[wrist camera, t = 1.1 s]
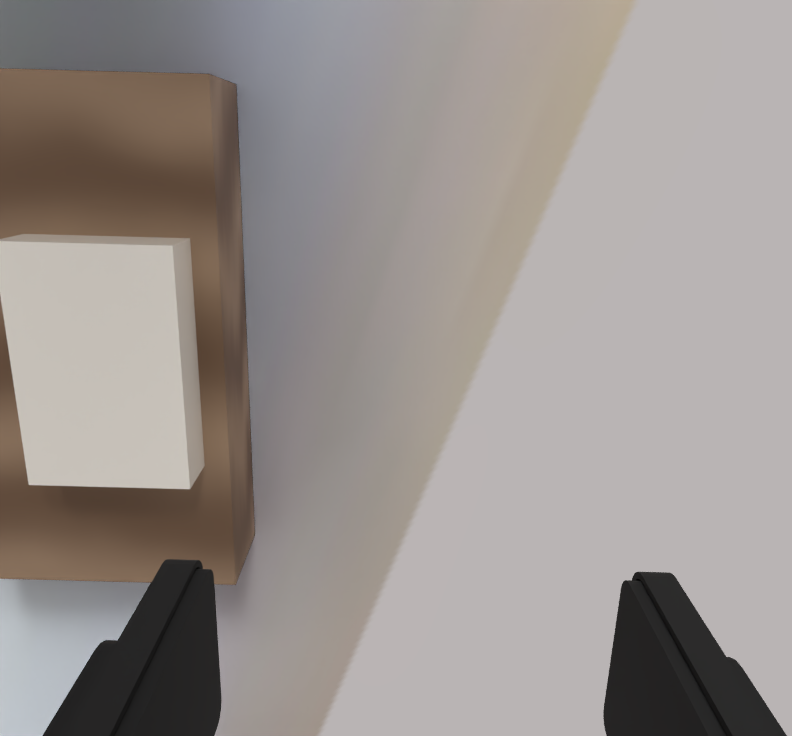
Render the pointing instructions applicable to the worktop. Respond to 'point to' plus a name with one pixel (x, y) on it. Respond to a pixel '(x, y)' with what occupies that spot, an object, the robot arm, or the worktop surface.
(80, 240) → the ceramic tile
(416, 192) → the worktop surface
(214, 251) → the walnut block
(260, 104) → the worktop surface
